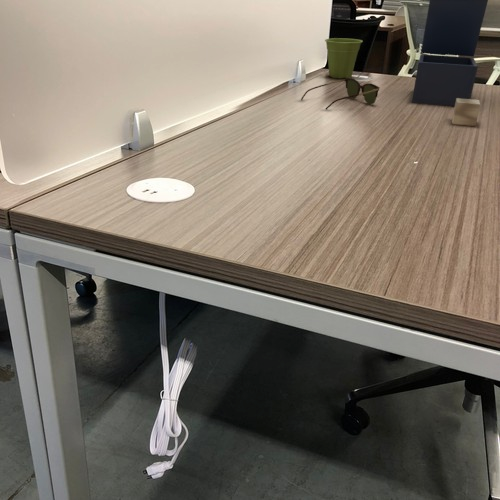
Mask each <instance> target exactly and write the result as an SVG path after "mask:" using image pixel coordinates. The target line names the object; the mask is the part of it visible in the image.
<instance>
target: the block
mask: <svg viewBox="0 0 500 500" xmlns="http://www.w3.org/2000/svg"><path fill="white" fill-rule="evenodd" d="M480 109H481V101H480V100H479V99H472V98H471V99H461V98H456V102H455V106H453V111H452V118H451V122H452V125H458V126H470V127H476V125H477V121H478V119H479V118H478V117H479V113H480Z"/></svg>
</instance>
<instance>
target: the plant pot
mask: <svg viewBox="0 0 500 500" xmlns="http://www.w3.org/2000/svg"><path fill="white" fill-rule="evenodd" d="M324 42H325V43H326V50H327V61H328V62H327V63H328V76H329V78H330V77H331V78H333V79H339V80H342V79H345V78H352V76H353V73H354V69H355V63H356V61H357V57H358V53H359V50H360V47H361V44H362V43H363V40H362V39H356V38H342V37H341V38H340V37H339V38H338V37H334V38H333V37H332V38H325V39H324Z"/></svg>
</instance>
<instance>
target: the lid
mask: <svg viewBox="0 0 500 500" xmlns="http://www.w3.org/2000/svg"><path fill="white" fill-rule="evenodd" d="M488 3H489V0H429V3H428V8H427V13H426V14H427V15H426V20H425V26H424V31H423V38H422V44H421V49H420V54H426V55H442V56H458V57H475V54H476V49H477V47H478V46H477V45H478V42H479V38H480V34H481V30H482V25H483V22H484V18H485V14H486V9H487V6H488Z"/></svg>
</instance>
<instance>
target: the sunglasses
mask: <svg viewBox="0 0 500 500" xmlns="http://www.w3.org/2000/svg"><path fill="white" fill-rule="evenodd" d="M340 82H345V89H346V92H347V96H344V97H340V98H338V99H335V100H333V101H332V102H331V103H330V104H329V105H327V106H326V107H325V110H328V109H329V108H330V107H331V106H332V105H334V104H335V103H336V102H339V101H342V100H347V99H349V98H350V99H356V98H357V97H359V96H362V97H363V98H364V101H365V102H366V104H369V105H374V104H375V103H376V100H377V98H378V95H379V91H380V87H379V86H378V85H376V84H374V83H364V84H363V85H361V84H360V82H359V81H358V80H356V79H355V78H352V77H351V78H341V79H339V80H335V81H331V82H328V83H324V84H321V85H318V86H315V87H314V86H313V87H311V88H309V89H307V90H306V91H305V93H304V94H303V95H302V96H301V98H300V100H301V101H303V100H304V97H305V96H306V95H307V94H308V92H311V91H312V90H316V89H318V88H321V87H325V86H329V85H332V84H336V83H340ZM360 92H361V93H360Z"/></svg>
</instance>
